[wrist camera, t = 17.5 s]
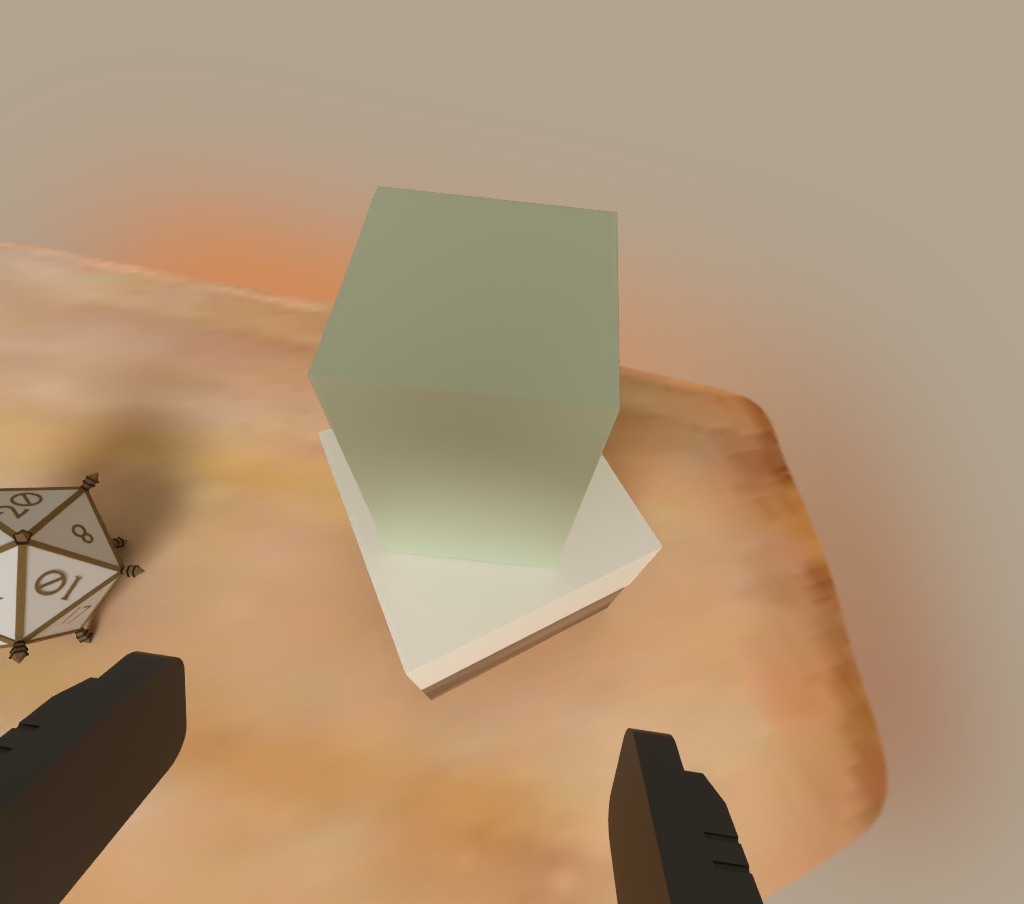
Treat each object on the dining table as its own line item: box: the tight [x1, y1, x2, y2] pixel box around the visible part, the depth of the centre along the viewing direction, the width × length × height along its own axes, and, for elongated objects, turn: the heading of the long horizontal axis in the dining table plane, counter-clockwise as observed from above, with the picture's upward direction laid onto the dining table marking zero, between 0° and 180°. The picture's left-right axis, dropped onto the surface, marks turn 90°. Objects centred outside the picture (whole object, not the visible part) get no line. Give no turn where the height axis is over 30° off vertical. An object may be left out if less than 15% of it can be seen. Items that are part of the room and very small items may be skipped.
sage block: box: [308, 186, 620, 569], centre depth 16 cm, size 6×6×10 cm
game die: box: [0, 472, 145, 663], centre depth 23 cm, size 9×8×10 cm
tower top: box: [318, 428, 662, 690], centre depth 22 cm, size 10×10×5 cm
